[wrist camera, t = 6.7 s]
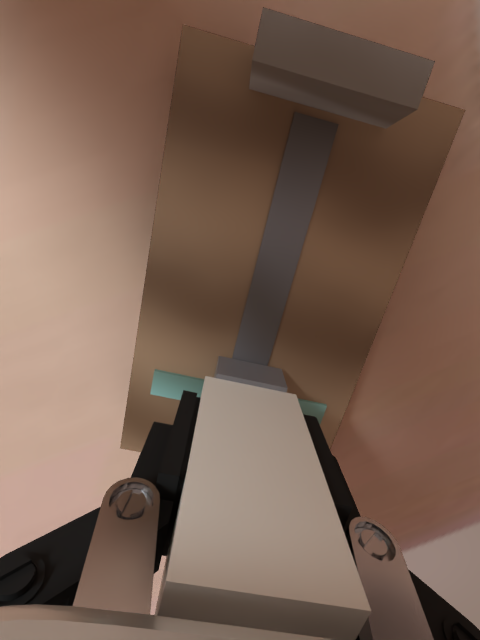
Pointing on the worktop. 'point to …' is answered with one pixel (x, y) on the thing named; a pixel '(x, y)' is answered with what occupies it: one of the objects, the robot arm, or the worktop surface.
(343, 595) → the fader
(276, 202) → the wooden slider board
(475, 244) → the worktop surface
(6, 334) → the worktop surface
